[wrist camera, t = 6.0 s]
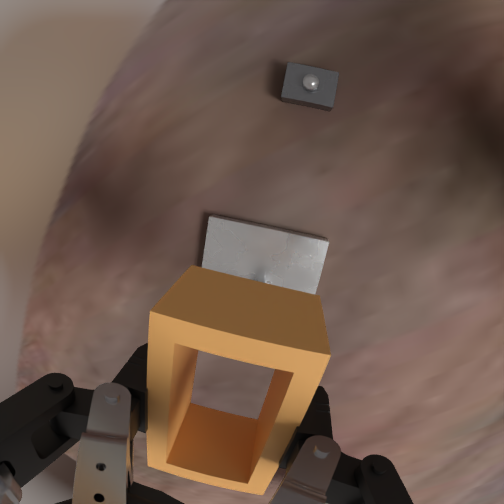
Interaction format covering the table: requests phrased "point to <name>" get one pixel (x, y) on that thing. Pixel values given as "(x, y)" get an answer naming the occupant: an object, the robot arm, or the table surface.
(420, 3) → the table surface
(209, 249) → the plate
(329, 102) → the grey knob block
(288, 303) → the orange link
